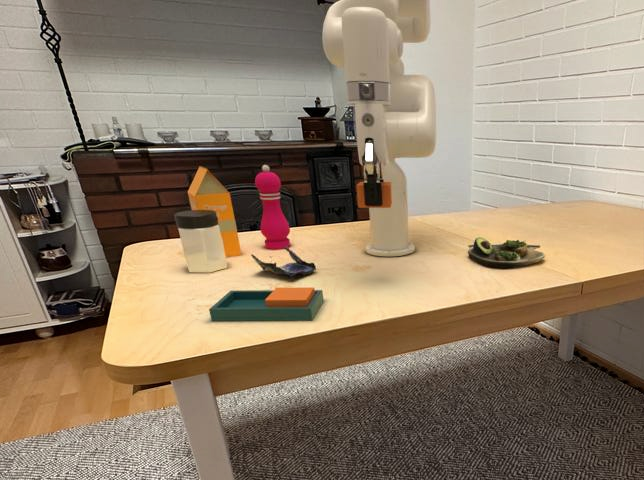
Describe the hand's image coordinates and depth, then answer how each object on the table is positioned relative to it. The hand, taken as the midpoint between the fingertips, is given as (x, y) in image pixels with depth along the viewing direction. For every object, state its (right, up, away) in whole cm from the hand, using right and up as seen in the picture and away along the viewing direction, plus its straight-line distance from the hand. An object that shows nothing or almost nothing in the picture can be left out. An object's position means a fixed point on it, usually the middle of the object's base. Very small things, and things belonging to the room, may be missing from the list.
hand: (375, 202), depth 90 cm
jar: (-40, -10, +16) cm, 44 cm away
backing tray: (-17, -22, -7) cm, 29 cm away
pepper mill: (-31, 0, +34) cm, 46 cm away
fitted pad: (-13, -22, -7) cm, 26 cm away
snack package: (-21, -12, +12) cm, 27 cm away
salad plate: (+27, -6, +25) cm, 37 cm away
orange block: (0, -1, 0) cm, 1 cm away
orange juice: (-43, -4, +27) cm, 51 cm away
